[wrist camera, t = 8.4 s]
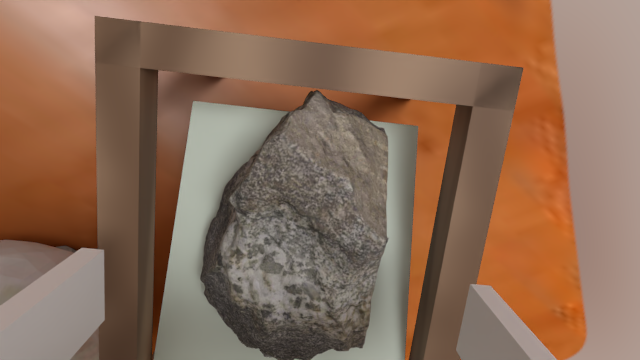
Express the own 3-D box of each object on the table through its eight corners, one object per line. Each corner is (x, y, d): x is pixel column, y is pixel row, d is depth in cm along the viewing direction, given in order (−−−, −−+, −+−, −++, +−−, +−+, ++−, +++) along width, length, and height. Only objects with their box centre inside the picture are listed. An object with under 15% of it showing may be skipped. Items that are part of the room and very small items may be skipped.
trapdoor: (140, 517, 22) (116, 560, 19) (200, 111, 26) (188, 94, 23) (384, 532, 23) (398, 576, 20) (408, 134, 26) (423, 121, 23)
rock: (351, 350, 22) (379, 418, 16) (194, 331, 22) (155, 394, 15) (387, 112, 23) (428, 84, 16) (233, 86, 22) (212, 45, 16)
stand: (194, 300, 38) (100, 473, 21) (205, 51, 33) (94, 16, 16) (377, 316, 39) (429, 495, 22) (416, 76, 34) (523, 67, 17)
